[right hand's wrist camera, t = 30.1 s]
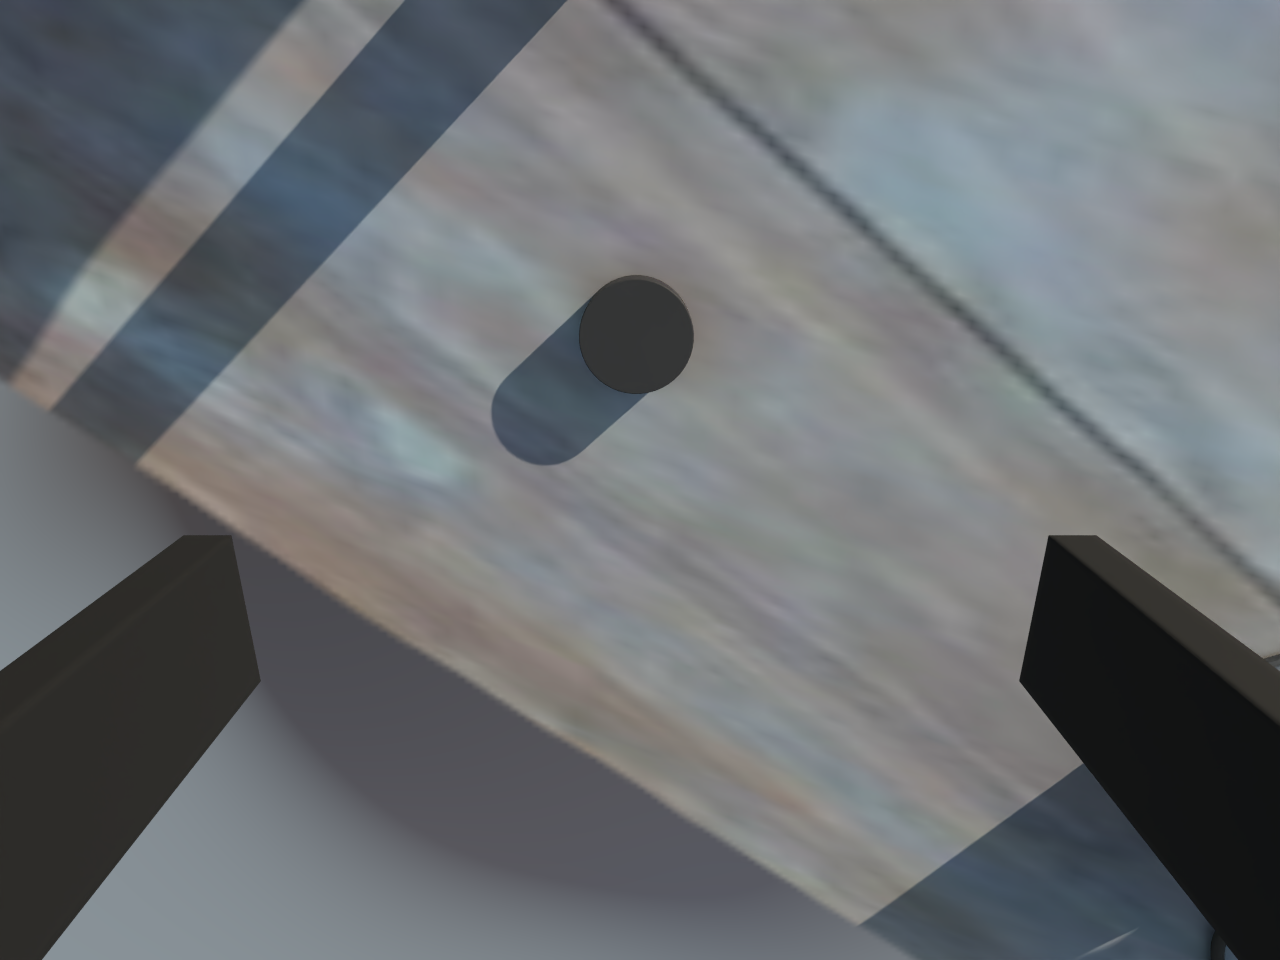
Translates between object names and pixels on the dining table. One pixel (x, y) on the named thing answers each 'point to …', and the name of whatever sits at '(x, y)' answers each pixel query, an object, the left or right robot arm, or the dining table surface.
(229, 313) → the dining table surface
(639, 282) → the lid
